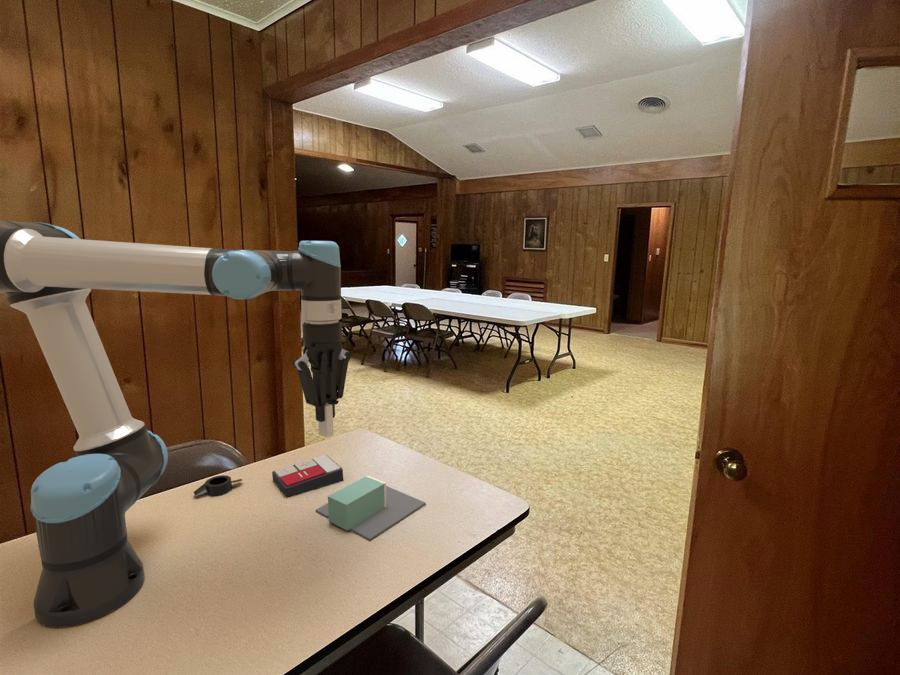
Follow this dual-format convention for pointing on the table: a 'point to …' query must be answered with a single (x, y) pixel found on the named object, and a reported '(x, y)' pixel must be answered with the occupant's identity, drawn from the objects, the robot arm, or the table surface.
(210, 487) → the black ring with arms
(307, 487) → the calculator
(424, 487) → the table surface
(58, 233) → the robot arm
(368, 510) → the block
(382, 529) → the mat
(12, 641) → the table surface
